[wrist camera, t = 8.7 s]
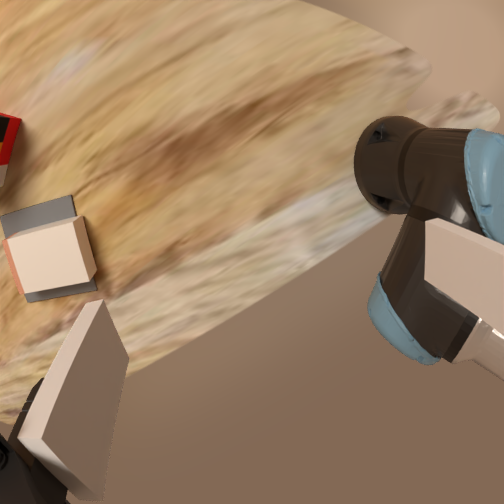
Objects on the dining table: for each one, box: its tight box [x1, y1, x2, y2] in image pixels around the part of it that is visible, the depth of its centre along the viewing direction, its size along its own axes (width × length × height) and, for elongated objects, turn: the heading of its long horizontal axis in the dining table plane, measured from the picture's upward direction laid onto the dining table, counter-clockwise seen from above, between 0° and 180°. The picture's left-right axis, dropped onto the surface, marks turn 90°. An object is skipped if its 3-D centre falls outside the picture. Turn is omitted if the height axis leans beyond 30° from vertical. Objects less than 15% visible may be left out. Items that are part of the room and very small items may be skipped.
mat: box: [0, 195, 97, 302], centre depth 39 cm, size 13×14×1 cm
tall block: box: [2, 215, 97, 294], centre depth 37 cm, size 4×8×12 cm
